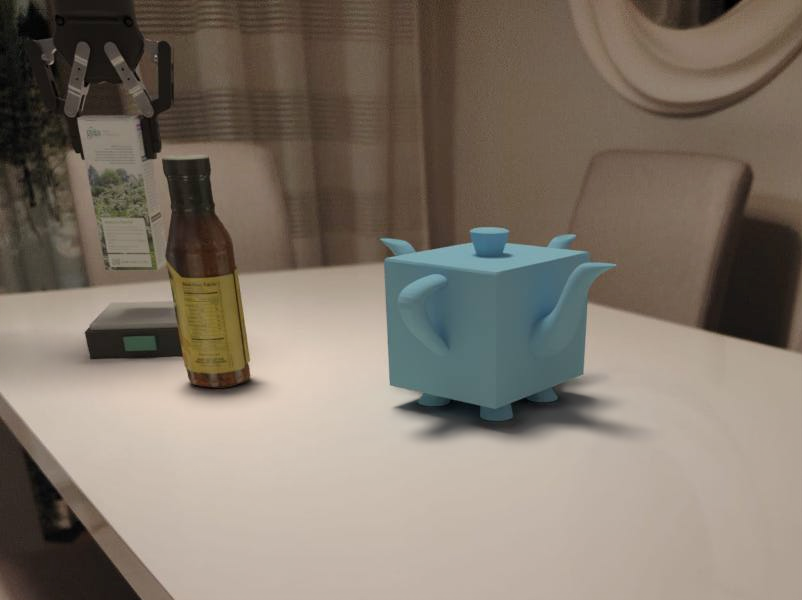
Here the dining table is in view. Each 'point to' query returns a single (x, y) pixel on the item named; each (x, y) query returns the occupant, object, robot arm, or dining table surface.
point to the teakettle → (487, 319)
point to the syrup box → (123, 192)
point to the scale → (135, 331)
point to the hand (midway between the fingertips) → (119, 158)
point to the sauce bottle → (204, 278)
